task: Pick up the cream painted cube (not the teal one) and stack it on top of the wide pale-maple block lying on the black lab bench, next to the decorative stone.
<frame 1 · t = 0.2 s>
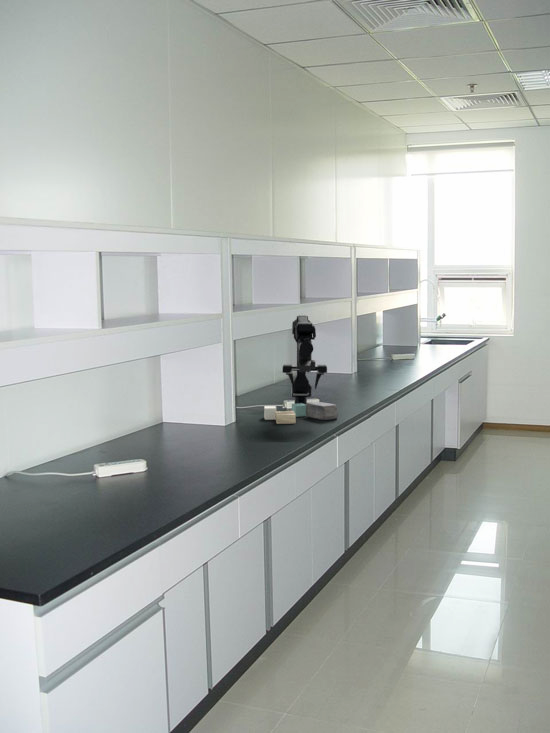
hand: (304, 388, 343), 14 cm above the worktop, fingers open, 9 cm apart
cream cube: (270, 418, 353), on the worktop
decorative stone: (321, 418, 353), on the worktop
teal cube: (298, 415, 359), on the worktop
maple block: (285, 422, 346), on the worktop
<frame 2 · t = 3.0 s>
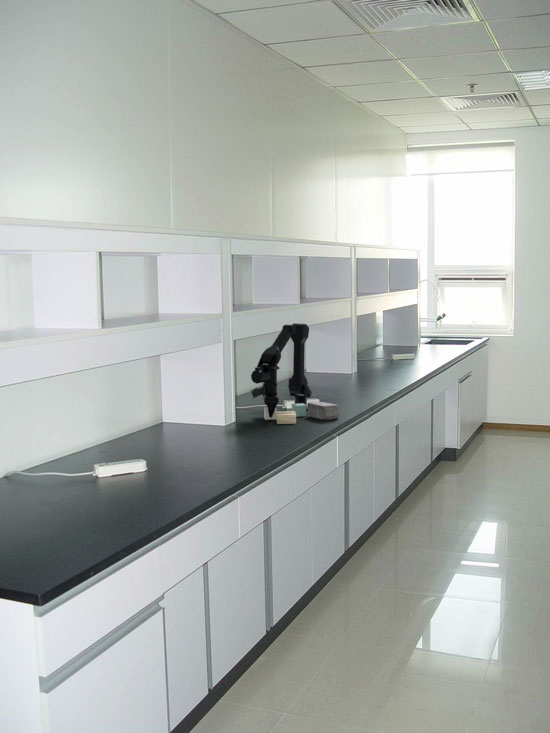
hand: (270, 415, 352), 1 cm above the worktop, fingers closed on cream cube, 5 cm apart
cream cube: (270, 418, 353), on the worktop, touching gripper
everything else where it was.
when the fingers open (6 cm above the worktop, at t = 6.4 s): cream cube drops 2 cm, resting on maple block.
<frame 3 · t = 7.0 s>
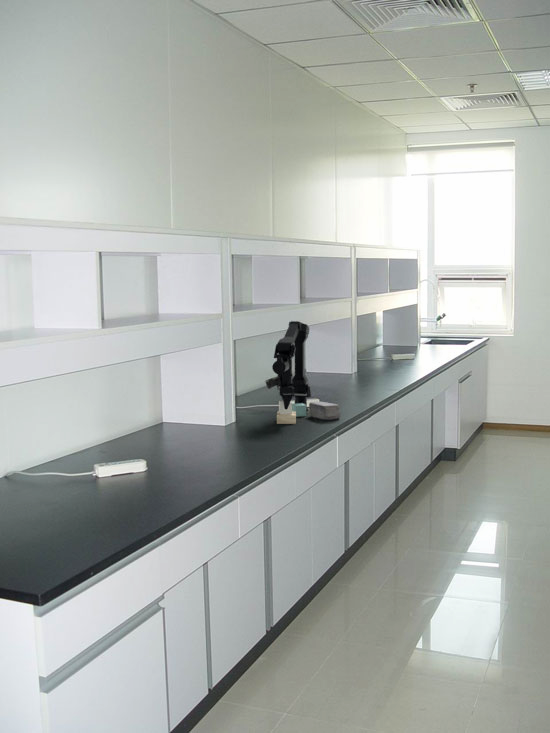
hand: (285, 407, 345), 6 cm above the worktop, fingers open, 9 cm apart
cream cube: (285, 413, 346), point 4 cm above the worktop, touching maple block
maple block: (286, 422, 346), on the worktop, touching cream cube
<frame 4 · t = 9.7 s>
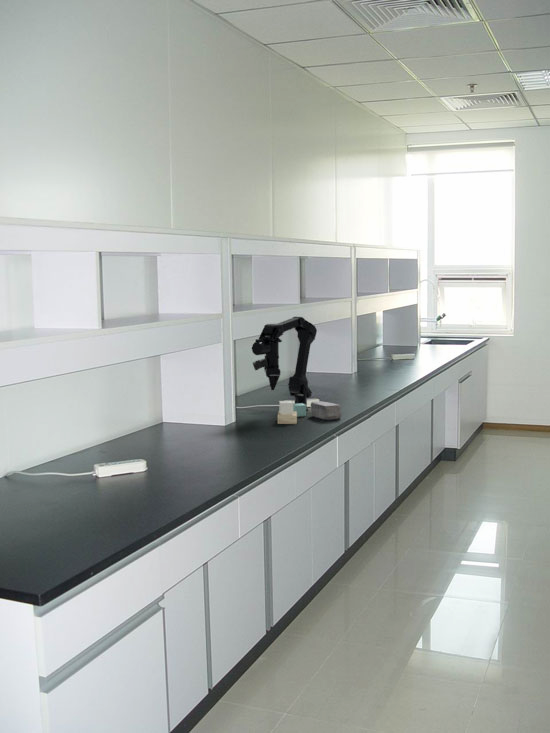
hand: (272, 388, 355), 13 cm above the worktop, fingers open, 9 cm apart
at the end: cream cube 0.4 cm off-centre on the maple block, point 4.0 cm above the maple block's base; cream cube tilted 0°; the gripper is holding nothing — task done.
